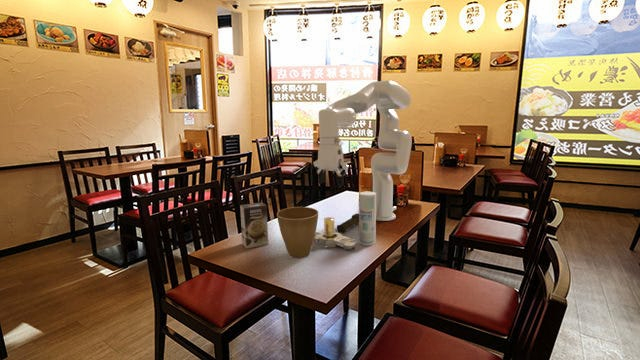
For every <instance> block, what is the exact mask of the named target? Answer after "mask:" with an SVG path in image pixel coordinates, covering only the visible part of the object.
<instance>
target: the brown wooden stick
mask: <svg viewBox="0 0 640 360" xmlns="http://www.w3.org/2000/svg"><path fill="white" fill-rule="evenodd" d="M357 225H359V213H355V214H352V215H351V218H349V219H347V220H346V221H344V222H342V223H340V224H337V225H336V232H337V233H338V232H339V233H340V234H345V233H346V231H348V230H349V229H351V228H352V227H354V226H357Z"/></svg>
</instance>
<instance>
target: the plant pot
mask: <svg viewBox="0 0 640 360" xmlns="http://www.w3.org/2000/svg"><path fill="white" fill-rule="evenodd" d="M276 216H277V217H276V218H277V223H278V227H279V230H280V234H281V238H282V240H283V244H284V246H285V248H286V251H287V252H288V255H289V256H290V257H291V258H293V259H302V258H306V257H308V256H310V253H311V250H312V247H313V244H314V237H315V233H316V232H317V226H318V221H319V220H318V219H319V211H318V210H317V209H315V208H313V207H309V206H292V207H287V208H284V209H283V208H282V209H281V210H278V211H277V213H276Z"/></svg>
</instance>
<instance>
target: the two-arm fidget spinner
mask: <svg viewBox="0 0 640 360" xmlns="http://www.w3.org/2000/svg"><path fill="white" fill-rule="evenodd" d="M334 235H335V238H325V237H324V232H319V231H316V233H315V237H314V241H313V243H317V242H318V246H321V247H323V248H336V246H337V247H341V250H343V251H353V250H354V249H355V247H356V244H357V240H356V239H354V238H351V237H349V236H344V235H342V233H338V232H337V231H334ZM326 246H327V247H326Z"/></svg>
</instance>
